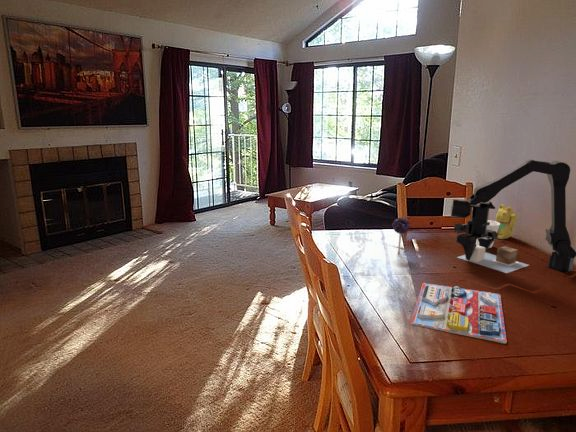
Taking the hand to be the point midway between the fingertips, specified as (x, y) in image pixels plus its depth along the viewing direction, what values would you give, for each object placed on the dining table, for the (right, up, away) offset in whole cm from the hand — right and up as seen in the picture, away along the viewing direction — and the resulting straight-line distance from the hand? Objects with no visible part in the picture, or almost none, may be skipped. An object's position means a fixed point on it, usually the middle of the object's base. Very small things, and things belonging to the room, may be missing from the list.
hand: (474, 258), depth 160 cm
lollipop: (-28, +1, +7) cm, 28 cm away
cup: (+12, +3, +18) cm, 22 cm away
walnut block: (+11, -1, -2) cm, 11 cm away
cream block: (0, 0, 0) cm, 0 cm away
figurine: (+28, +6, +33) cm, 44 cm away
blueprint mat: (+6, -2, -2) cm, 6 cm away
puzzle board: (-23, -11, -41) cm, 49 cm away
